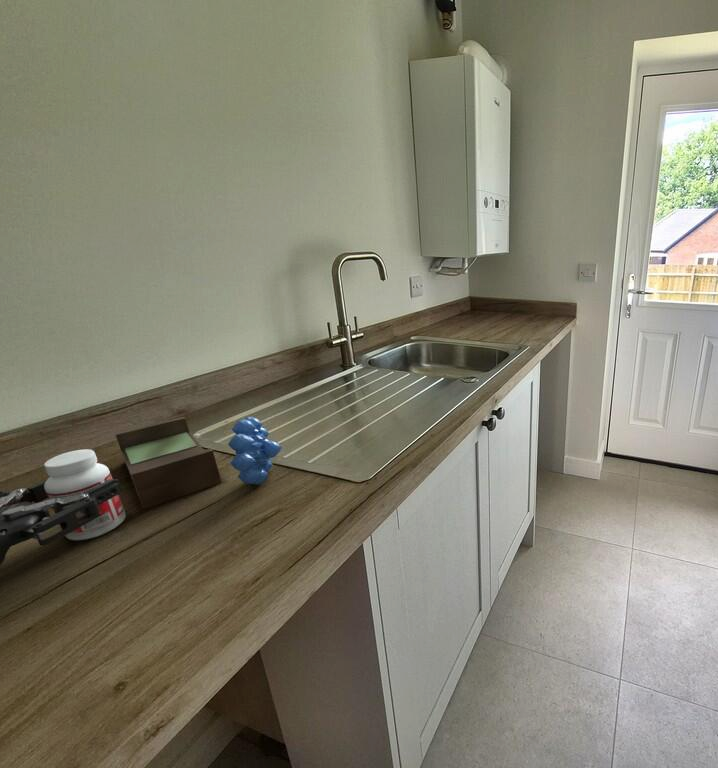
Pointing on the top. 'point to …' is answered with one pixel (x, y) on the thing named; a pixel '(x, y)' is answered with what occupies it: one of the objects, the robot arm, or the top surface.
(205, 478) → the brown two-tone box
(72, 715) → the top surface
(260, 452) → the grapes
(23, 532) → the robot arm
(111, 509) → the pill bottle
